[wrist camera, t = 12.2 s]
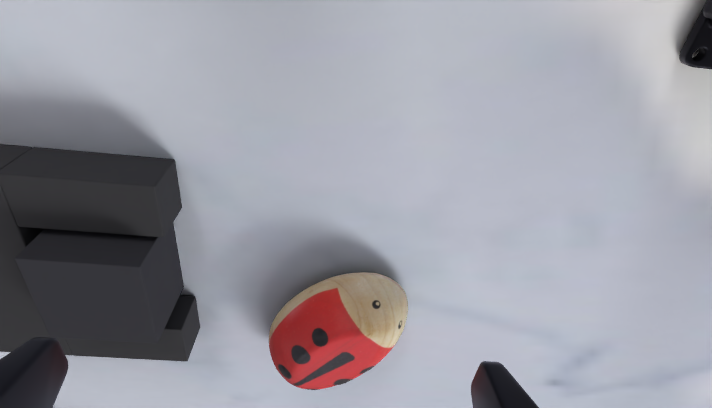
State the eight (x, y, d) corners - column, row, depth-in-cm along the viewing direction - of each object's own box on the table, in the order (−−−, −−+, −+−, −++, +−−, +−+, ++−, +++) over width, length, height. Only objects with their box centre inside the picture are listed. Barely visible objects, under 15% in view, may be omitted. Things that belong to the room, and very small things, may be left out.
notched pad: (175, 158, 20) (154, 186, 17) (200, 327, 26) (187, 361, 24) (-74, 137, 19) (-127, 163, 17) (17, 316, 25) (-13, 351, 23)
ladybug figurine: (431, 301, 25) (442, 350, 22) (322, 372, 29) (319, 423, 26) (352, 241, 22) (353, 288, 19) (243, 328, 26) (230, 379, 23)
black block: (172, 214, 21) (139, 266, 18) (184, 286, 24) (157, 343, 21) (66, 205, 21) (13, 258, 18) (91, 280, 24) (49, 337, 20)
